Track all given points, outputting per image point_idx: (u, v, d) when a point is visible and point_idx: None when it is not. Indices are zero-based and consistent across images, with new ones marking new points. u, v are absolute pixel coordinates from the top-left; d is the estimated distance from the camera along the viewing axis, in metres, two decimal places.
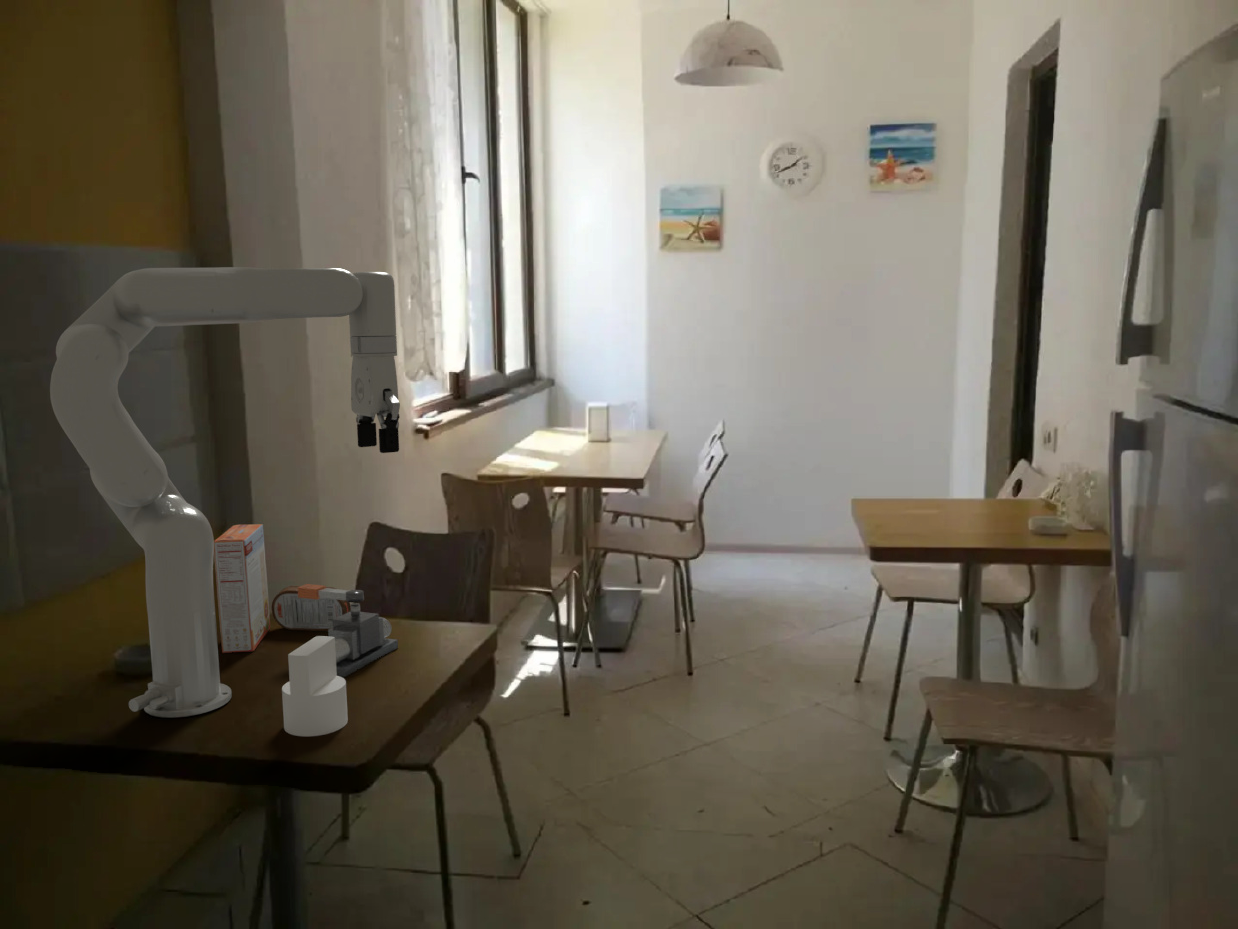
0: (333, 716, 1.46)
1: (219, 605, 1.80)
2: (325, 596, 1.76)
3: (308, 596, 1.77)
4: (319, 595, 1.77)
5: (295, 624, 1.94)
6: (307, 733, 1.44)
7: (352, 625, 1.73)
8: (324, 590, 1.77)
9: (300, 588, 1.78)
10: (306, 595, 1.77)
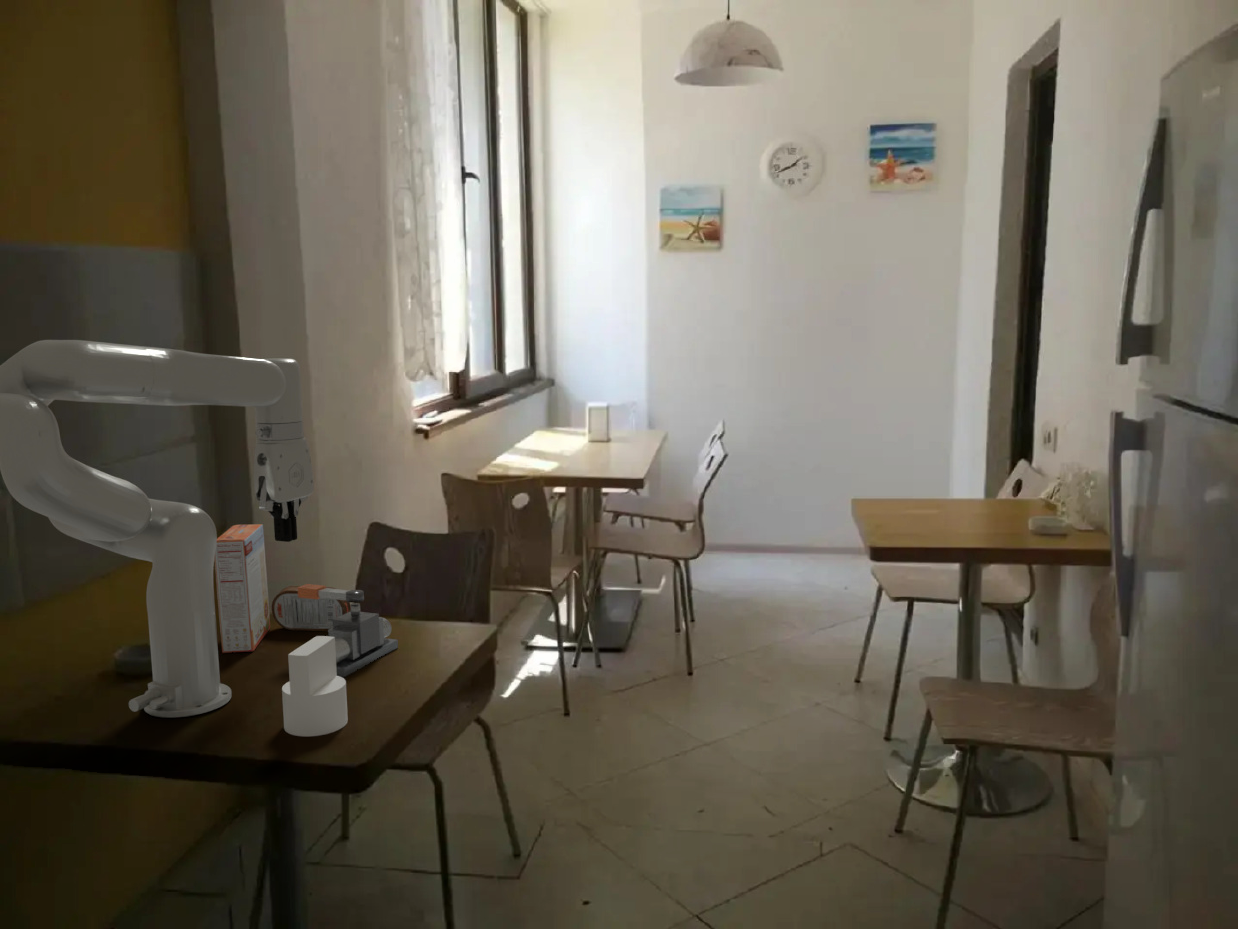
0: (333, 716, 1.46)
1: (219, 605, 1.80)
2: (325, 596, 1.76)
3: (308, 596, 1.77)
4: (319, 595, 1.77)
5: (295, 624, 1.94)
6: (307, 733, 1.44)
7: (352, 625, 1.73)
8: (324, 590, 1.77)
9: (300, 588, 1.78)
10: (306, 595, 1.77)
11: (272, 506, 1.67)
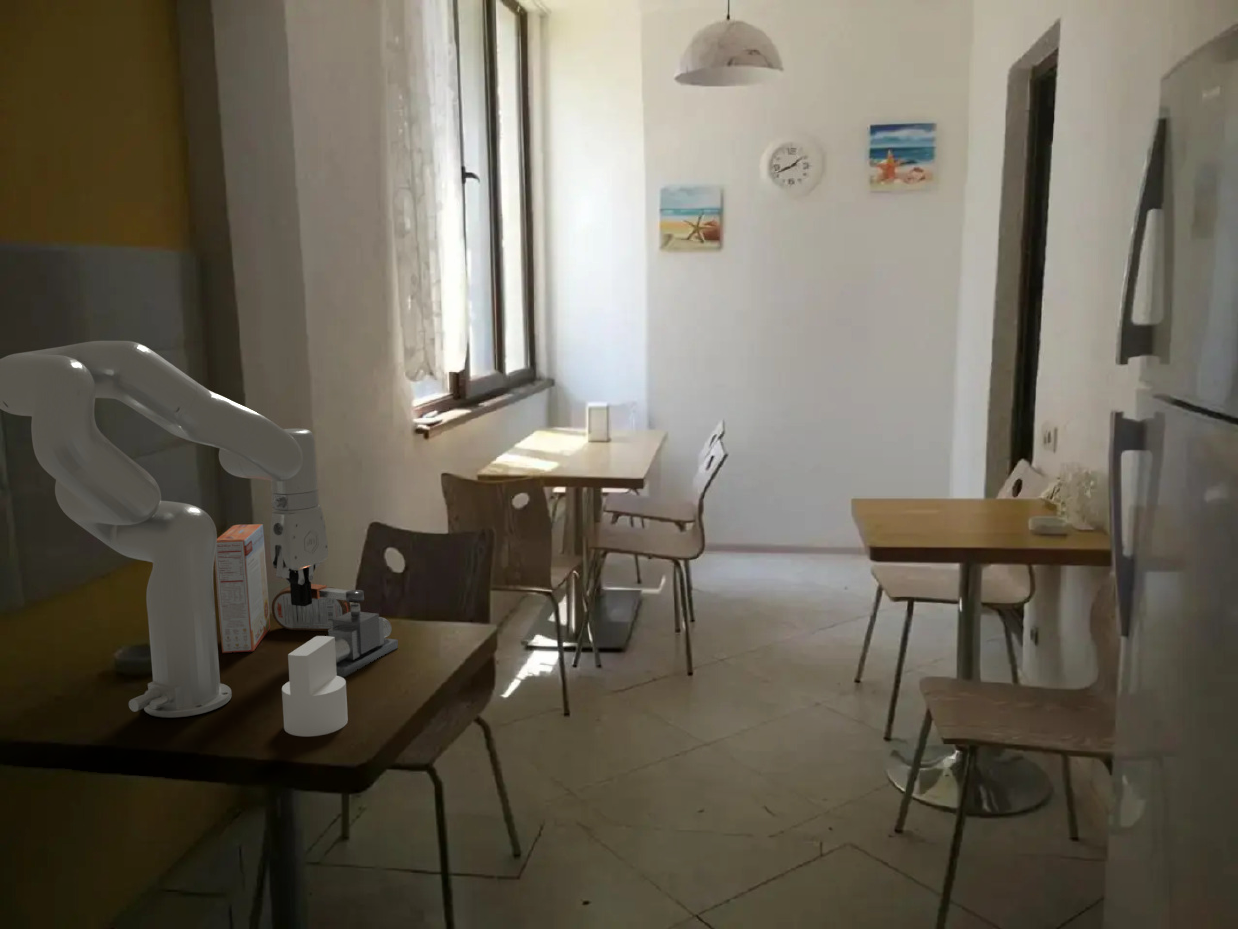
0: (333, 716, 1.46)
1: (219, 605, 1.80)
2: (326, 596, 1.76)
3: None
4: (320, 595, 1.77)
5: (295, 624, 1.94)
6: (307, 733, 1.44)
7: (352, 625, 1.73)
8: (325, 590, 1.77)
9: None
10: None
11: (289, 573, 1.72)
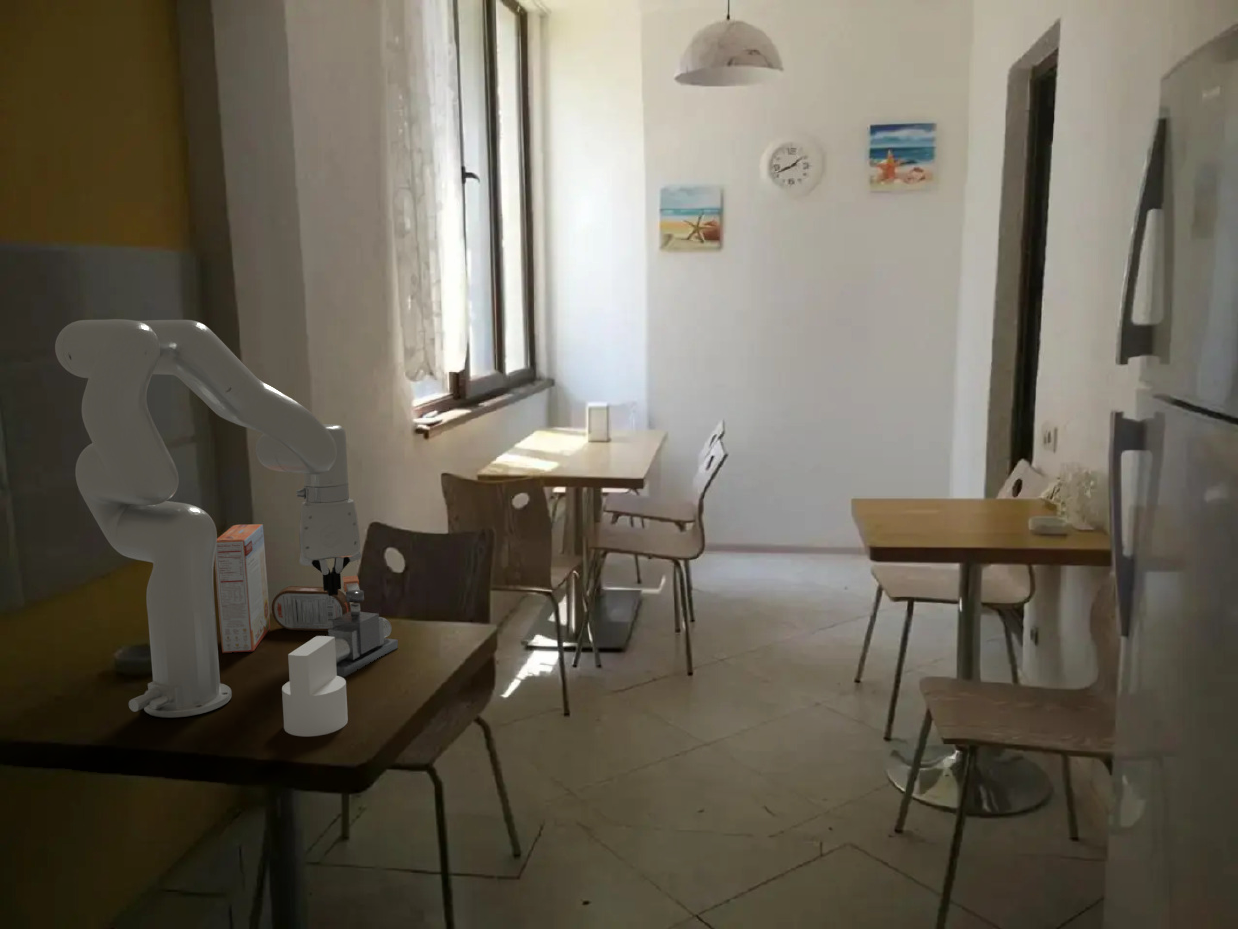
0: (333, 716, 1.46)
1: (219, 605, 1.80)
2: (346, 590, 1.80)
3: (343, 587, 1.83)
4: (346, 588, 1.81)
5: (295, 624, 1.94)
6: (307, 733, 1.44)
7: (352, 625, 1.73)
8: (349, 584, 1.81)
9: (343, 578, 1.84)
10: (343, 585, 1.83)
11: (311, 561, 1.80)
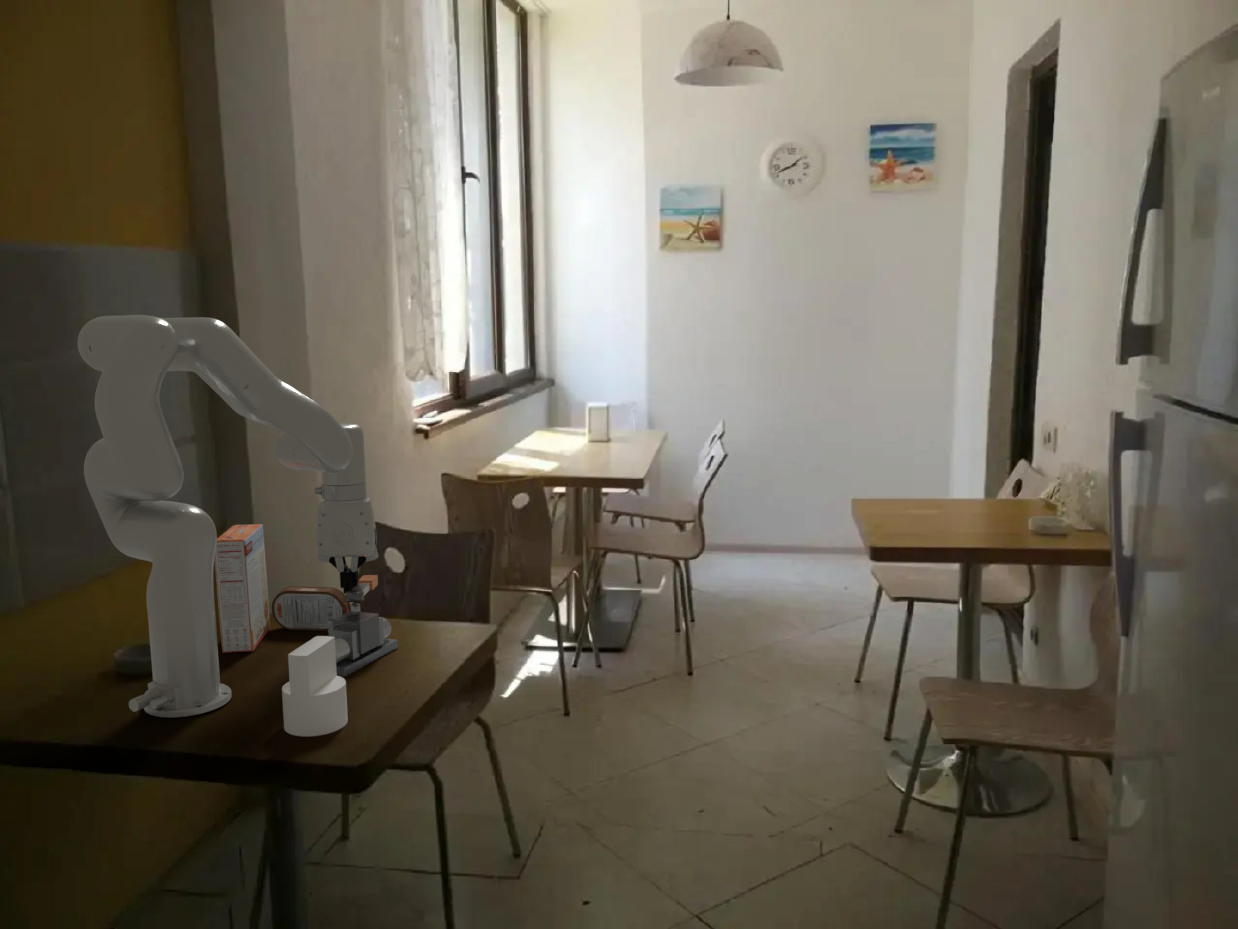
0: (333, 716, 1.46)
1: (219, 605, 1.80)
2: None
3: None
4: None
5: (295, 624, 1.94)
6: (307, 733, 1.44)
7: (352, 625, 1.73)
8: (360, 583, 1.81)
9: None
10: None
11: (328, 558, 1.83)
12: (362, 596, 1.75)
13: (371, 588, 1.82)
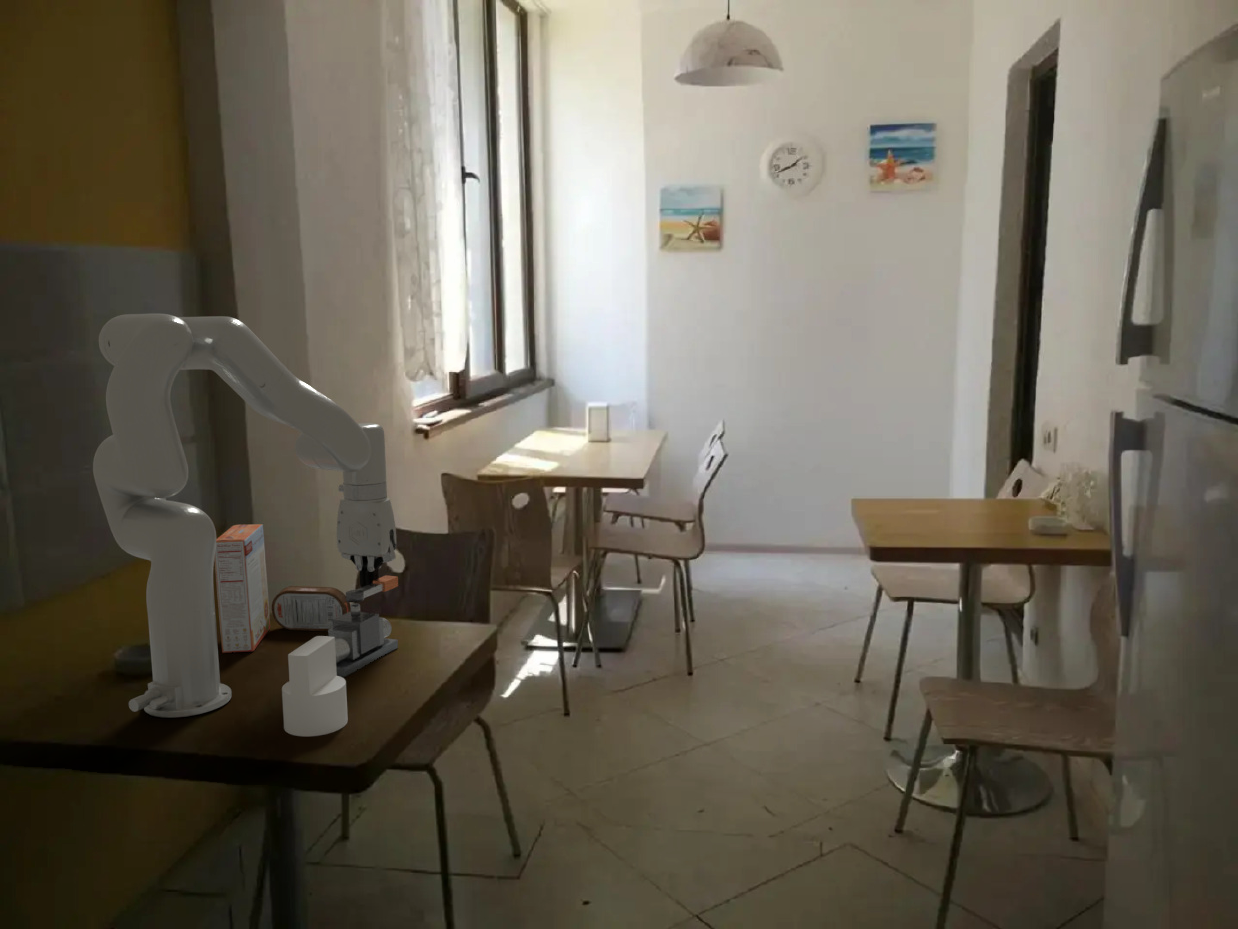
0: (333, 716, 1.46)
1: (219, 605, 1.80)
2: None
3: None
4: None
5: (295, 624, 1.94)
6: (307, 733, 1.44)
7: (352, 625, 1.73)
8: (373, 584, 1.81)
9: None
10: None
11: (350, 555, 1.84)
12: (360, 597, 1.74)
13: (384, 589, 1.81)
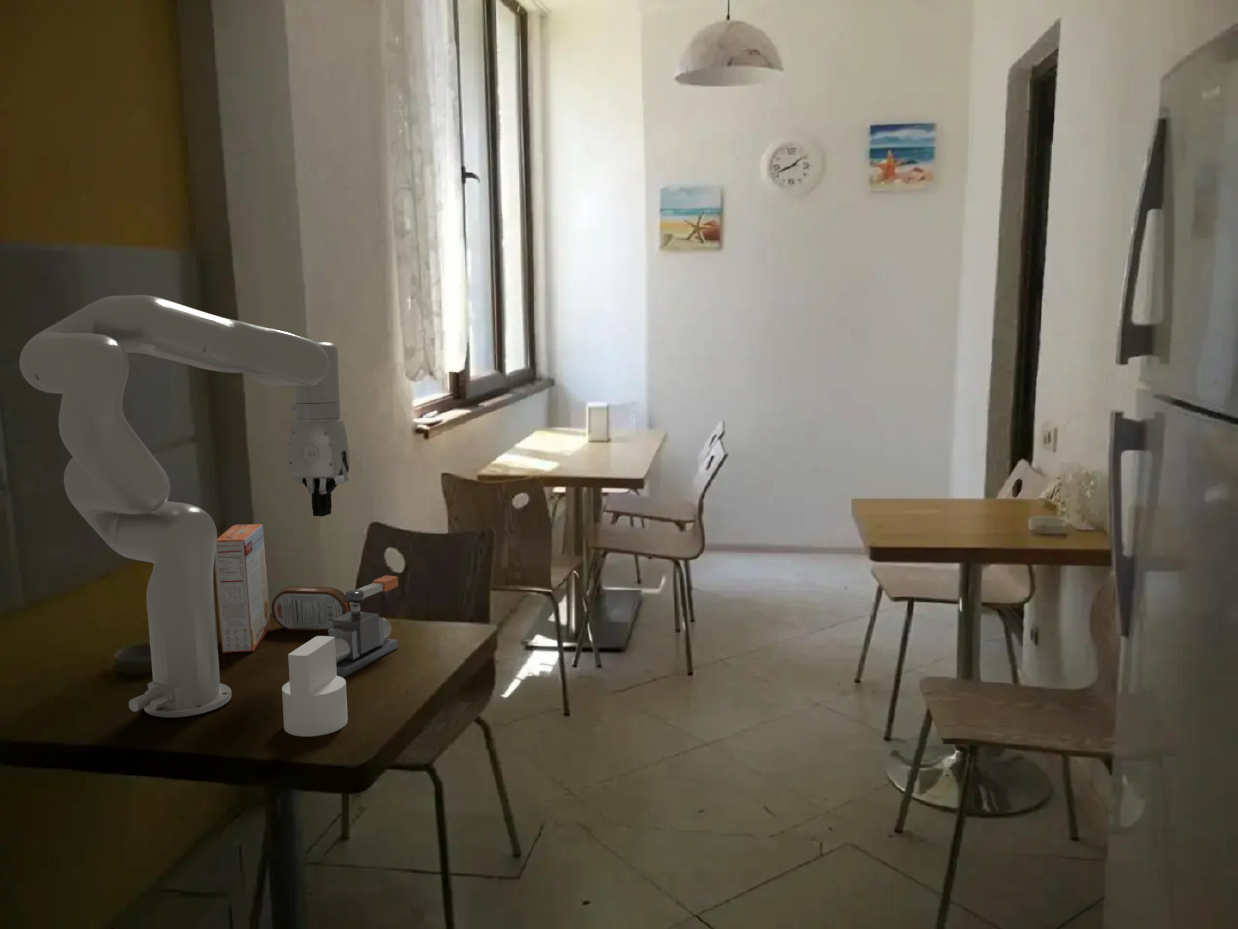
0: (333, 716, 1.46)
1: (219, 605, 1.80)
2: None
3: None
4: None
5: (295, 624, 1.94)
6: (307, 733, 1.44)
7: (352, 625, 1.73)
8: (373, 584, 1.81)
9: None
10: None
11: (302, 478, 1.80)
12: (360, 597, 1.74)
13: (384, 589, 1.81)
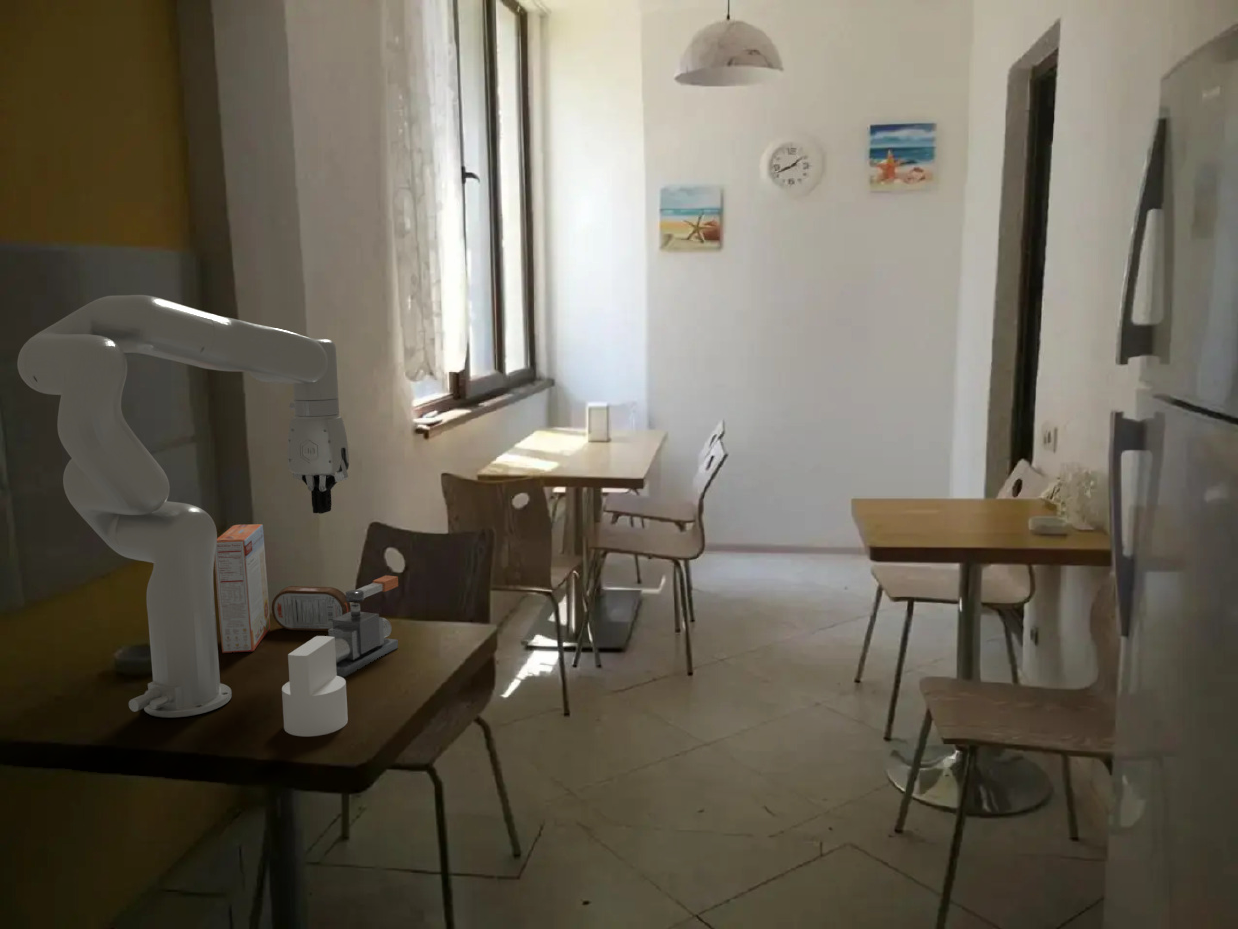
0: (333, 716, 1.46)
1: (219, 605, 1.80)
2: None
3: None
4: None
5: (295, 624, 1.94)
6: (307, 733, 1.44)
7: (352, 625, 1.73)
8: (373, 584, 1.81)
9: None
10: None
11: (301, 475, 1.80)
12: (360, 597, 1.74)
13: (384, 589, 1.81)
